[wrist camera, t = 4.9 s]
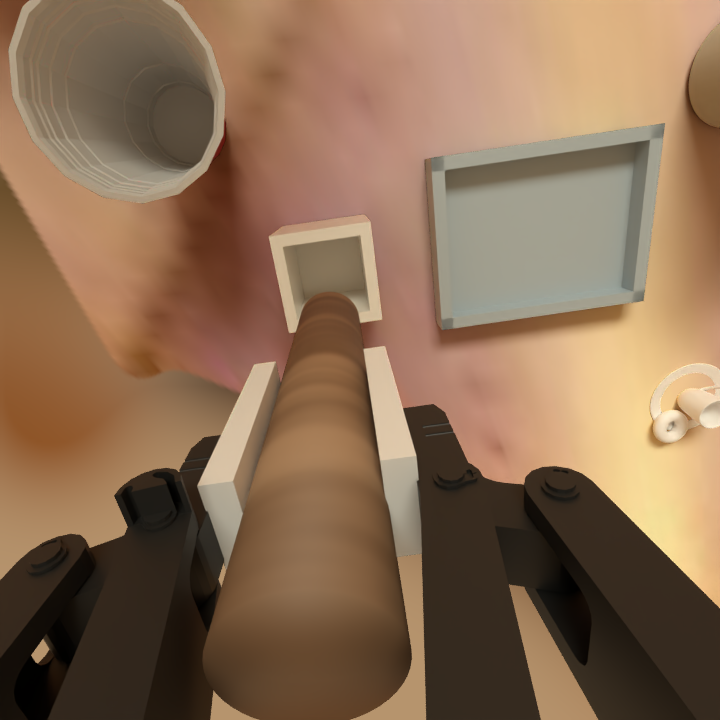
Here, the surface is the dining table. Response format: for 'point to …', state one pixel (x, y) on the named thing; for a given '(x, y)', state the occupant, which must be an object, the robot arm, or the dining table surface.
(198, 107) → the plastic cup
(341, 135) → the dining table surface
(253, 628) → the dowel
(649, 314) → the dining table surface
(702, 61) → the travel mug
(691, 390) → the cream curved piece
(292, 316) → the square open box
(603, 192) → the tray
